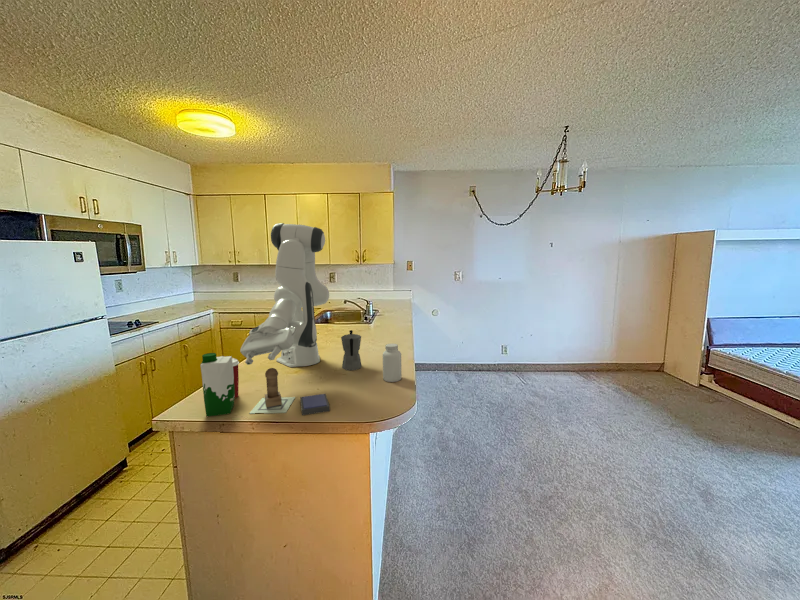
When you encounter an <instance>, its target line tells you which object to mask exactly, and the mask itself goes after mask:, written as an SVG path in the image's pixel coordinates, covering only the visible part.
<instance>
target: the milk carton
mask: <svg viewBox="0 0 800 600" xmlns="http://www.w3.org/2000/svg"><path fill="white" fill-rule="evenodd" d="M232 356H233V355H231V356H230V355H229V356H228V355H227V356H224V355H221V356H217V353H216V352H209V353H204V354H202V361H201V363H200V372H201V379H202V380H201V381H202V382H201V383H202V392H203V403H204V410H205V411H204V412H205V416H206V417H207V416H208V417H216V416H221V415H230V414H231V412H232V411H231V410H233V408H234V406H235V400H236V398H235V387H234V373H233V364H232V358H233V357H232Z"/></svg>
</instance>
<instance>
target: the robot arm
mask: <svg viewBox="0 0 800 600" xmlns="http://www.w3.org/2000/svg"><path fill="white" fill-rule="evenodd" d="M270 242H271V244H272V245H273V247H274V248H276V250H277V257H276V262H275V272H274V273H275V276H274V277H275V280H276V283H277V284H278V285H279V286H278V287H277V288H276V289H275V290H274V293H273V298H274V302H275V303H274V304H273V306H272V307H271V309H270V311H269V314H268V317H267V318H266V319H265V320H264V322H262V323H260V324H259V325H257V326H256V327H253V328H252V329H250V330H249V332H248V336H247V337H246V338H245V340H244V342H243V343H242V345H241V347H240V350H239V351H240V353H241V354H242V356H244V357H245V358H246V359H245V361H244V362H245V364H246V365H247V366H249V365H252V364H253V362H254V360H253V359H254V357H257V356H260V355H265V354H268V356H267V359H268V360H269V361H274V360H275V359H276V362H278V363H280V364H282V365H284V366H287V367H289V368H295V367H296V368H297V367H307V366H311V365H317V364H318V363H320V361H321V359H320V358H321V356H320V355H319V347H318V343H317V340H318V339H317V337H318V335H317V334H318V333H317V326H316V317H315V307H317V306H321V305H324V304H326V303H328V301H329V298H330V291H329V288H328V287H327V286H326V285H325V284H324V283H322V282H321V281H320V280H319V278H318V277H317V273H316V253H319V252H321V251H322V250H323V249H324V246H325V245H326V236H325V232H324V231H323V229H321V228H320V227H316V226H315V227H314V226H308V225H305V224H300V223H299V224H293V223H292V224H291V223H284V222H279V223H275V224H274V225H273V226H272V228H271V231H270ZM280 353H281V355H280V356H279V357H277V356H278V355H279V354H280Z"/></svg>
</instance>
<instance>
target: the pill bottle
mask: <svg viewBox="0 0 800 600" xmlns="http://www.w3.org/2000/svg"><path fill="white" fill-rule="evenodd" d="M382 378H383V380H384V382H388V383H396V382H399V381H401V379H402V352H401V351H400V350H399V344H397V343H387V344H386V345H385V350H384V351H383V353H382Z"/></svg>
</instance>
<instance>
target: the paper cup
mask: <svg viewBox="0 0 800 600" xmlns="http://www.w3.org/2000/svg"><path fill="white" fill-rule="evenodd" d="M232 364H233V373H234V387H235V399H237V398H238V397H239V380H240V379H239V378H240V377H239V364H240V361H239V360H238V359H237V358H234V357H232ZM236 397H237V398H236Z"/></svg>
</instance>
